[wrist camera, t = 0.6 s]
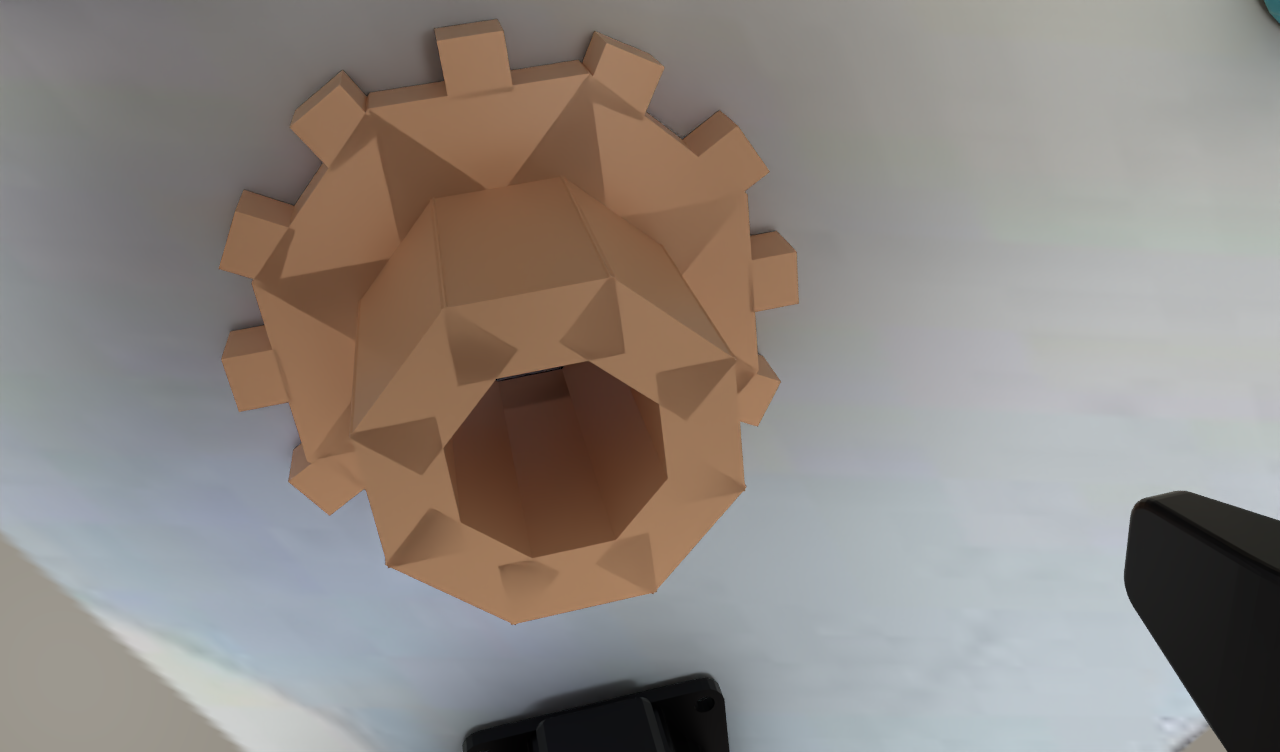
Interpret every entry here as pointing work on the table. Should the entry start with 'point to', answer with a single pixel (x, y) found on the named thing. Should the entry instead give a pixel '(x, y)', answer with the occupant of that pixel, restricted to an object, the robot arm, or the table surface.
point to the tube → (1274, 8)
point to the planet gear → (515, 321)
